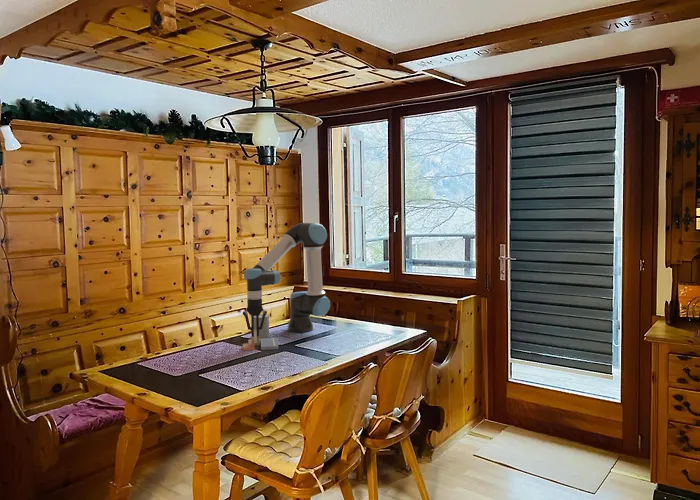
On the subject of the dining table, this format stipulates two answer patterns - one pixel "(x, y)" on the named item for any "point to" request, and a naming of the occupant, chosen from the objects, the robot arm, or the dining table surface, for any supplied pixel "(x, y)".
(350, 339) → the dining table surface
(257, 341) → the olive stub
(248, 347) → the terracotta stub
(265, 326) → the grey cylinder
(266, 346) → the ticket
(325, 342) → the dining table surface
